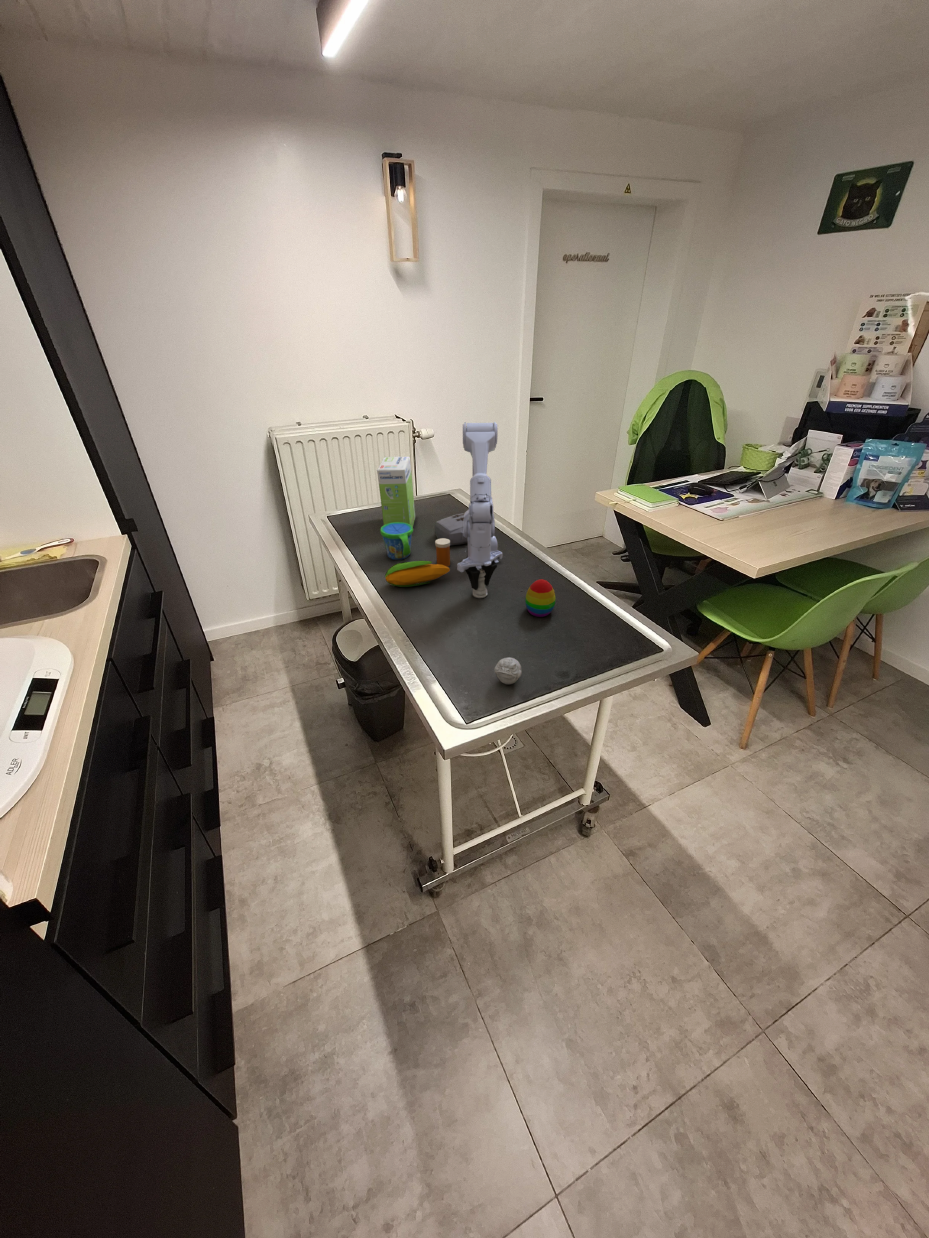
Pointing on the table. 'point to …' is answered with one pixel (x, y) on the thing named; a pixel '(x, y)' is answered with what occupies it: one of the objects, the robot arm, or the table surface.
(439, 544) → the pill bottle
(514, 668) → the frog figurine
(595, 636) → the table surface
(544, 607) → the decorative egg
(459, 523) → the soft grey pack
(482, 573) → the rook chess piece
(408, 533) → the snack cup
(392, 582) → the corn
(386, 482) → the toothbrush box
